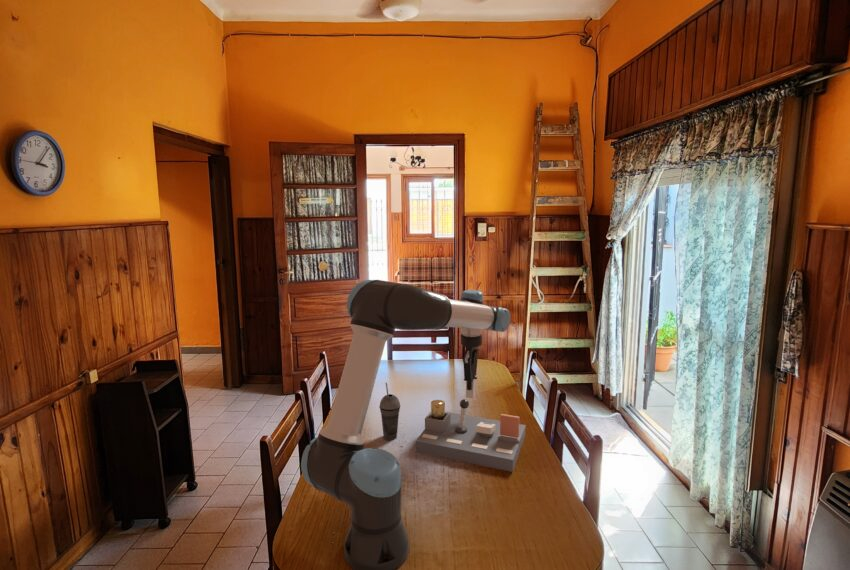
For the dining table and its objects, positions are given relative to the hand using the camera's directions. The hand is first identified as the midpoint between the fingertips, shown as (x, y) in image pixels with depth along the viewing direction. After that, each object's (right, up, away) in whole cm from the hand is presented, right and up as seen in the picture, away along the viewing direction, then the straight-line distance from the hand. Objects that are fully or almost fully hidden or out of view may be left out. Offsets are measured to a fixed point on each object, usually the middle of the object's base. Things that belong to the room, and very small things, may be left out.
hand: (470, 397), depth 168 cm
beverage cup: (-28, -13, -5) cm, 32 cm away
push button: (-12, -6, -6) cm, 15 cm away
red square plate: (+12, -9, -15) cm, 21 cm away
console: (0, -14, -9) cm, 17 cm away
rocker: (+4, -8, -12) cm, 15 cm away
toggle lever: (-4, -8, -9) cm, 13 cm away
